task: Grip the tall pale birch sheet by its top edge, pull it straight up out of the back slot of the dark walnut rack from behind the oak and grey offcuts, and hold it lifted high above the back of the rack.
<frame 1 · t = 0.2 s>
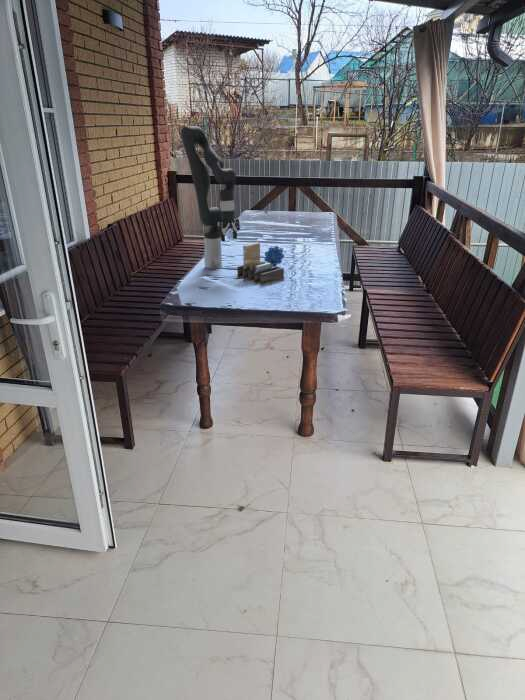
hand: (229, 240, 263), 18 cm above the table, fingers open, 8 cm apart
grapes: (274, 266, 282), on the table
rack: (260, 279, 259), on the table
offcut oak: (257, 275, 260), point 1 cm above the table, touching rack
offcut grey: (263, 277, 257), point 1 cm above the table, touching rack
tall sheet: (252, 273, 263), point 1 cm above the table, touching rack
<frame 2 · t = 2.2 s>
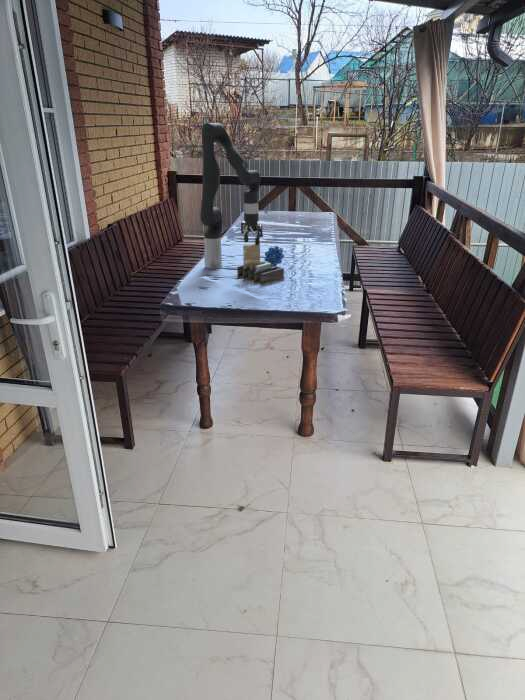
hand: (251, 243, 256), 18 cm above the table, fingers open, 8 cm apart
nothing on the table moved.
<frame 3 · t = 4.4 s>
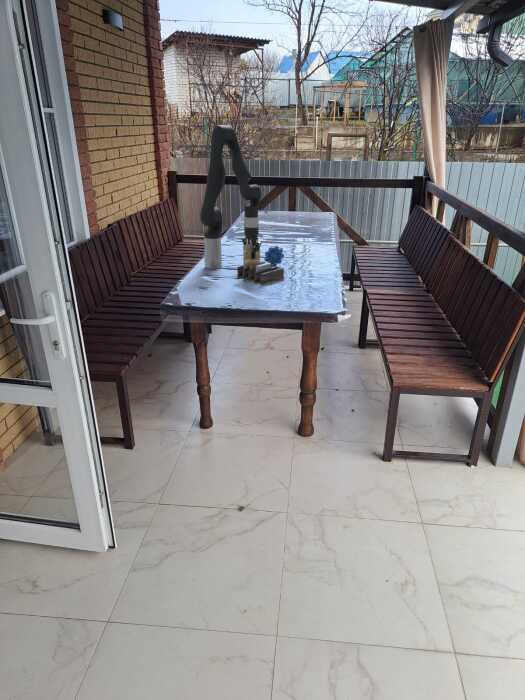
hand: (251, 258, 259), 10 cm above the table, fingers closed on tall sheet, 2 cm apart
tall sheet: (251, 273, 263), point 2 cm above the table, touching gripper
everything else where it was.
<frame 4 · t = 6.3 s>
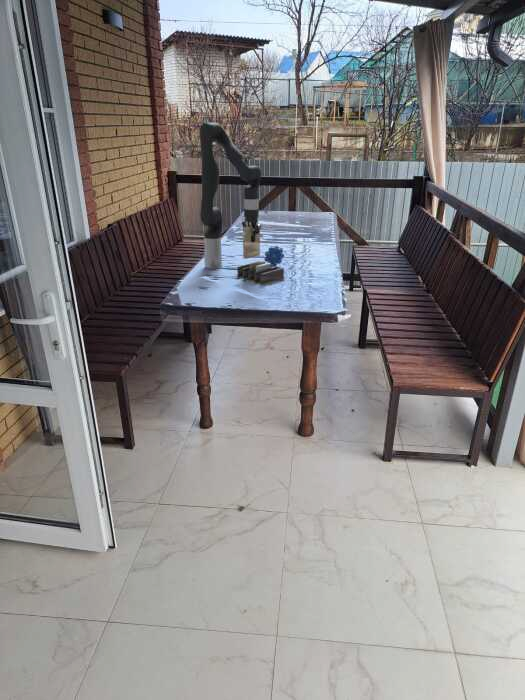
hand: (251, 241, 255), 19 cm above the table, fingers closed on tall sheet
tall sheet: (251, 256, 259), point 11 cm above the table, touching gripper
everything else where it was.
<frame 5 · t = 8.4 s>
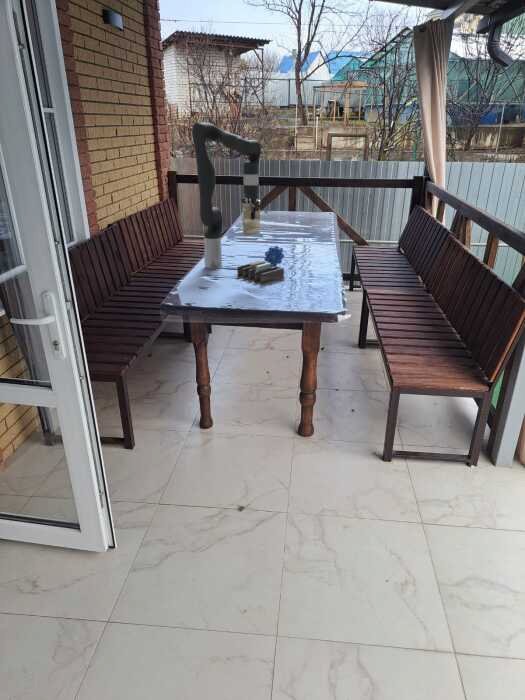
hand: (251, 218, 250), 31 cm above the table, fingers closed on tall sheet
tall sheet: (251, 234, 254), point 23 cm above the table, touching gripper
everything else where it was.
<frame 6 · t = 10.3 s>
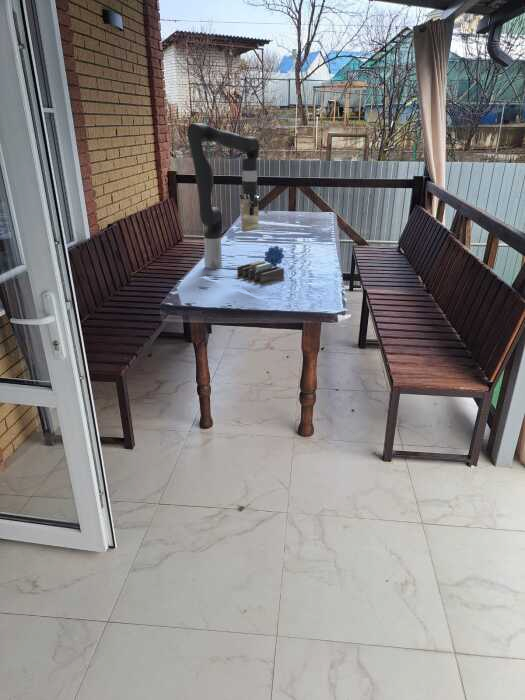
hand: (250, 214, 253), 32 cm above the table, fingers closed on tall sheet
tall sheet: (250, 230, 257), point 24 cm above the table, touching gripper
everything else where it was.
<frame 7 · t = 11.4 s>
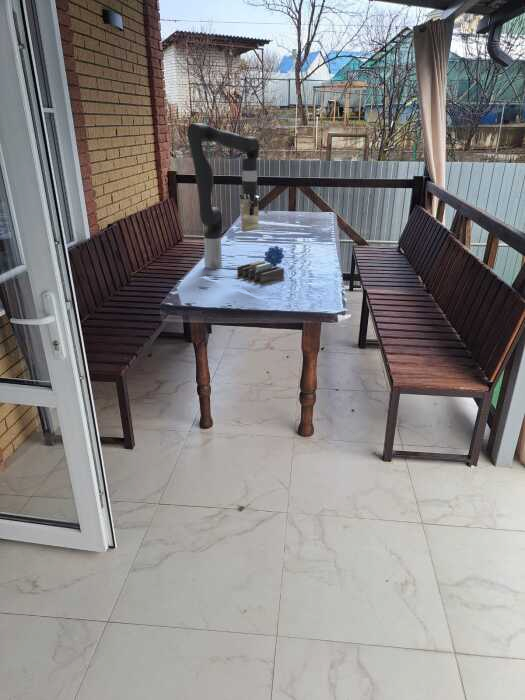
hand: (250, 214, 253), 32 cm above the table, fingers closed on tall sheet
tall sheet: (250, 230, 257), point 24 cm above the table, touching gripper
everything else where it was.
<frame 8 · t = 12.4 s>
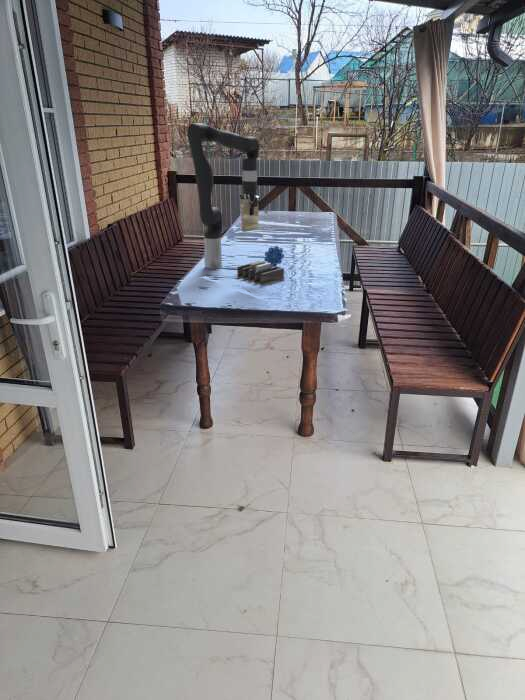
hand: (250, 214, 253), 32 cm above the table, fingers closed on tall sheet
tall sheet: (250, 230, 257), point 24 cm above the table, touching gripper
everything else where it was.
at the end: the gripper is holding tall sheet; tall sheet inside the target area (1.0 cm from its centre), point 24.0 cm above the table; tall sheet moved 22.9 cm from its start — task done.
